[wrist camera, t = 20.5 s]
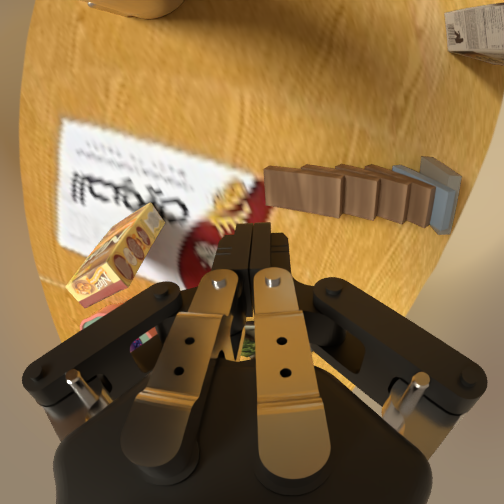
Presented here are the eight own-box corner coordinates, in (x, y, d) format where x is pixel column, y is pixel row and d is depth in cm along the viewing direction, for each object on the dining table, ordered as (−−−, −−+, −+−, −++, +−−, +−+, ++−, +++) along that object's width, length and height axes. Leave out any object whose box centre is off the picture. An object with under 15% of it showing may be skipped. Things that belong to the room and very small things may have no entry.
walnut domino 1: (266, 205, 41) (339, 218, 36) (263, 169, 38) (340, 179, 33) (271, 200, 42) (342, 213, 37) (269, 165, 39) (344, 175, 34)
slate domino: (389, 199, 40) (440, 230, 32) (392, 165, 37) (448, 192, 29) (397, 197, 40) (448, 228, 32) (400, 164, 37) (455, 190, 29)
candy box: (151, 200, 43) (104, 259, 30) (167, 223, 44) (129, 288, 32) (111, 226, 45) (63, 286, 32) (126, 246, 47) (84, 310, 34)
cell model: (107, 344, 62) (89, 383, 52) (90, 274, 51) (62, 316, 41) (178, 360, 62) (167, 404, 53) (176, 292, 52) (159, 341, 42)
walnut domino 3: (334, 202, 40) (402, 224, 34) (335, 166, 37) (407, 185, 31) (340, 198, 41) (406, 220, 34) (341, 163, 38) (411, 182, 32)
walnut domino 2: (301, 203, 40) (373, 220, 35) (300, 167, 38) (377, 181, 32) (307, 199, 41) (376, 215, 36) (306, 164, 39) (380, 177, 33)
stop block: (414, 208, 41) (438, 234, 34) (421, 156, 36) (449, 175, 30) (426, 208, 40) (450, 234, 34) (433, 157, 36) (461, 176, 29)
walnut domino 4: (362, 201, 40) (424, 228, 32) (364, 166, 37) (430, 189, 30) (369, 198, 40) (429, 224, 33) (371, 164, 38) (436, 186, 30)
